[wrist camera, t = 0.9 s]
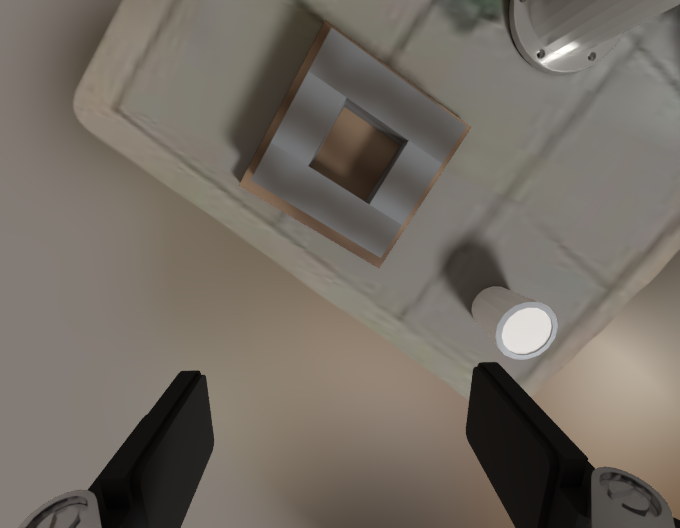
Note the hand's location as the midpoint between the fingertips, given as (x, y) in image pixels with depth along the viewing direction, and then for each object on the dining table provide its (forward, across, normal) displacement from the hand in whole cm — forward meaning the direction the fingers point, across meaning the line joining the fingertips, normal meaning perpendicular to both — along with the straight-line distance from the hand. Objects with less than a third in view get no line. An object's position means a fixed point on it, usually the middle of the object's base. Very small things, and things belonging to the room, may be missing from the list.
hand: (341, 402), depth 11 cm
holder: (+27, -3, -10) cm, 29 cm away
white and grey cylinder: (+27, -21, +8) cm, 35 cm away
